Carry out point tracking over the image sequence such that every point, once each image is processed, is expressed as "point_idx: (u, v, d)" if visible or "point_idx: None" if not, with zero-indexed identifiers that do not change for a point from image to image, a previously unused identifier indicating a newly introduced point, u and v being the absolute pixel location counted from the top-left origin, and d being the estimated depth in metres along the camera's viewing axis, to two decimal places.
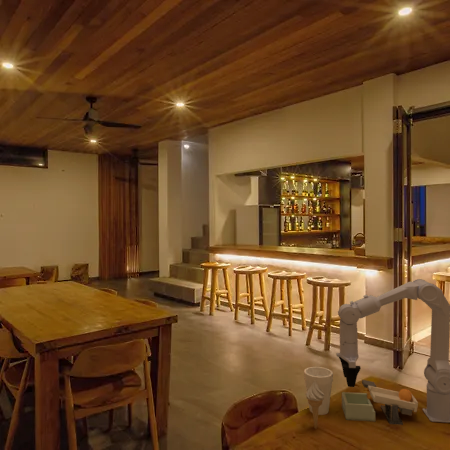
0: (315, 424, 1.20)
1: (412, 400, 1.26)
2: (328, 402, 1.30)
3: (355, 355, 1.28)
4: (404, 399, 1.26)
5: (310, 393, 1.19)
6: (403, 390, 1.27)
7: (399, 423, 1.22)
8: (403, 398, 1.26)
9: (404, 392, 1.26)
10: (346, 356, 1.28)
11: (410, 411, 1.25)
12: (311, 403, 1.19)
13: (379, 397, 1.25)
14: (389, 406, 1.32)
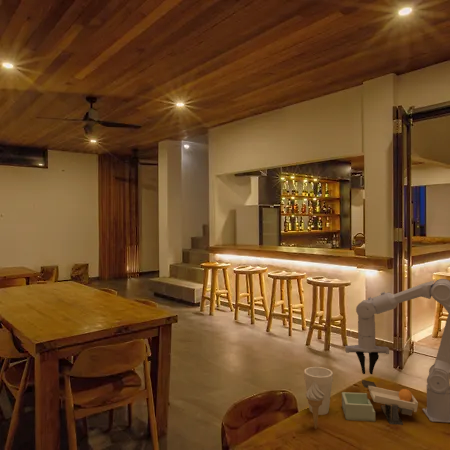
0: (315, 424, 1.20)
1: (412, 400, 1.26)
2: (328, 402, 1.30)
3: (361, 347, 1.37)
4: (404, 399, 1.26)
5: (310, 393, 1.19)
6: (403, 390, 1.27)
7: (399, 423, 1.22)
8: (403, 398, 1.26)
9: (404, 392, 1.26)
10: (358, 345, 1.40)
11: (410, 411, 1.25)
12: (311, 403, 1.19)
13: (379, 397, 1.25)
14: (389, 406, 1.32)
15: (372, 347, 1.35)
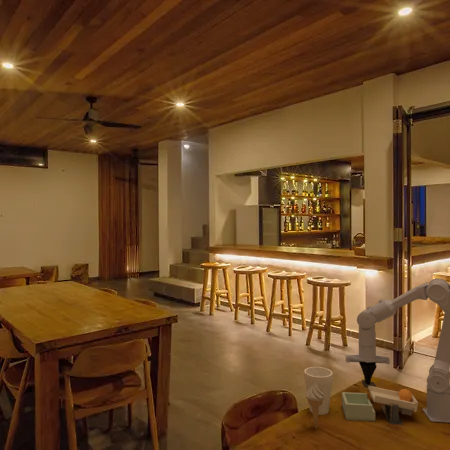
0: (315, 424, 1.20)
1: (412, 400, 1.26)
2: (328, 402, 1.30)
3: (361, 357, 1.37)
4: (404, 399, 1.26)
5: (310, 393, 1.19)
6: (403, 390, 1.27)
7: (399, 423, 1.22)
8: (403, 398, 1.26)
9: (404, 392, 1.26)
10: (358, 355, 1.40)
11: (410, 411, 1.25)
12: (311, 403, 1.19)
13: (379, 397, 1.25)
14: (389, 406, 1.32)
15: (372, 357, 1.35)
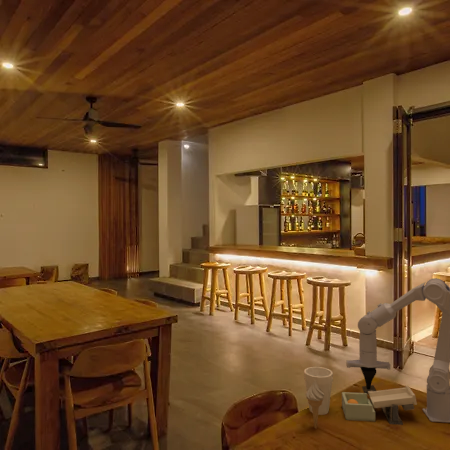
0: (315, 424, 1.20)
1: (410, 393, 1.26)
2: (328, 402, 1.30)
3: (362, 362, 1.37)
4: None
5: (310, 393, 1.19)
6: None
7: (399, 423, 1.22)
8: None
9: None
10: (359, 360, 1.40)
11: (411, 405, 1.25)
12: (311, 403, 1.19)
13: (377, 402, 1.25)
14: None
15: (373, 362, 1.35)
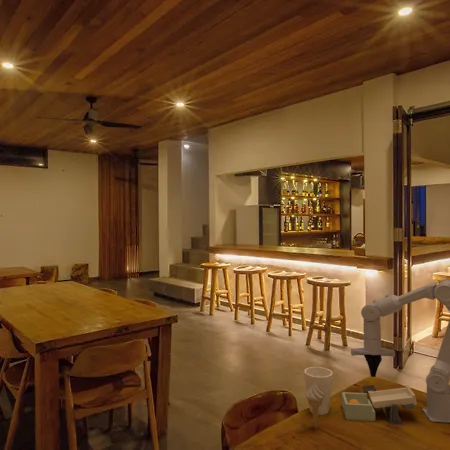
0: (315, 424, 1.20)
1: (410, 393, 1.26)
2: (328, 402, 1.30)
3: (367, 350, 1.37)
4: None
5: (310, 393, 1.19)
6: None
7: (399, 423, 1.22)
8: None
9: None
10: (363, 348, 1.40)
11: (411, 405, 1.25)
12: (311, 403, 1.19)
13: (377, 402, 1.25)
14: None
15: (378, 350, 1.36)
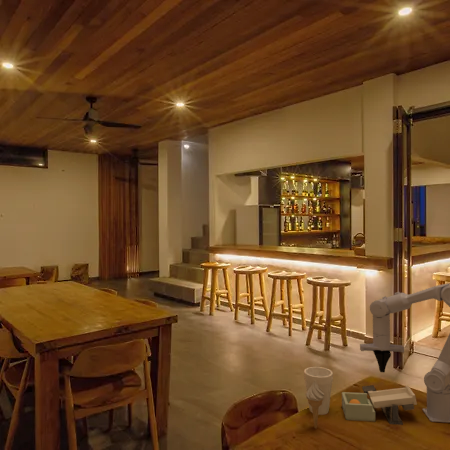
0: (315, 424, 1.20)
1: (410, 393, 1.26)
2: (328, 402, 1.30)
3: (376, 345, 1.38)
4: None
5: (310, 393, 1.19)
6: None
7: (399, 423, 1.22)
8: None
9: None
10: (373, 344, 1.41)
11: (411, 405, 1.25)
12: (311, 403, 1.19)
13: (377, 402, 1.25)
14: None
15: (387, 345, 1.37)
